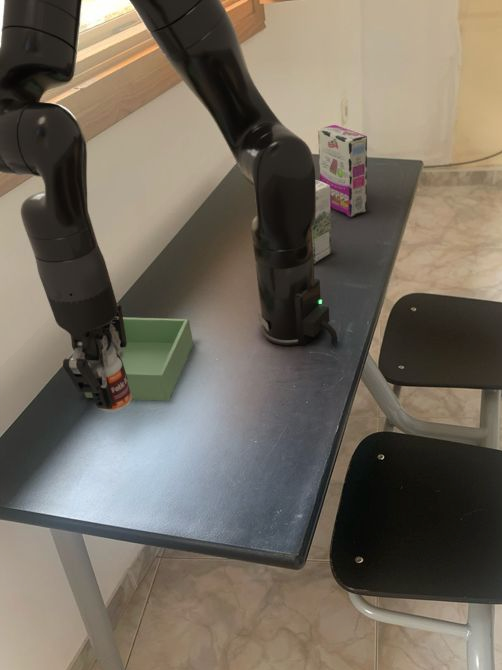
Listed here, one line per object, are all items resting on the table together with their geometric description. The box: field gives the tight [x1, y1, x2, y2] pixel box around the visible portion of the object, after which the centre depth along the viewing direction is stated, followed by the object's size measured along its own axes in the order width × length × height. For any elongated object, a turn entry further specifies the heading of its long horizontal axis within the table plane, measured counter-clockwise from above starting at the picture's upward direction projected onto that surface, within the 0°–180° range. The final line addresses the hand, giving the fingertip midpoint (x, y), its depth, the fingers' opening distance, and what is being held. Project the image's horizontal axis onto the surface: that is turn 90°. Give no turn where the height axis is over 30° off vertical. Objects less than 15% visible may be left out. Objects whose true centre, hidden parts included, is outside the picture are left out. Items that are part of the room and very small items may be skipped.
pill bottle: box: [86, 345, 133, 413], centre depth 88 cm, size 5×5×8 cm
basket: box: [83, 316, 194, 402], centre depth 105 cm, size 13×15×5 cm
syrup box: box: [312, 179, 332, 265], centre depth 128 cm, size 6×6×14 cm
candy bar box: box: [317, 124, 368, 218], centre depth 144 cm, size 11×5×16 cm, turn 37°
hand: (112, 393), depth 90 cm, fingers closed on pill bottle, 4 cm apart
